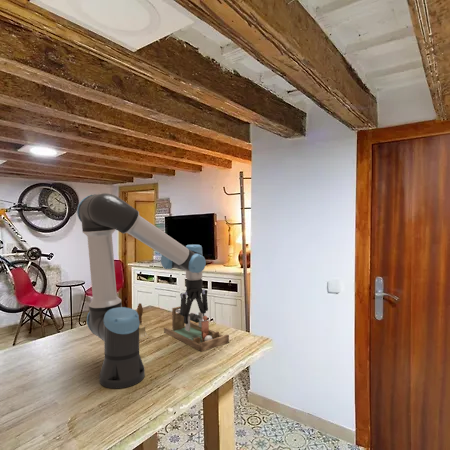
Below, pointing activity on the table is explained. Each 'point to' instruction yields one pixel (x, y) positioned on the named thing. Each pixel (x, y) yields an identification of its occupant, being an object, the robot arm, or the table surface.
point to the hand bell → (141, 327)
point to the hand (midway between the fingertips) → (194, 328)
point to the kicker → (204, 321)
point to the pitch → (193, 334)
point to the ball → (208, 338)
